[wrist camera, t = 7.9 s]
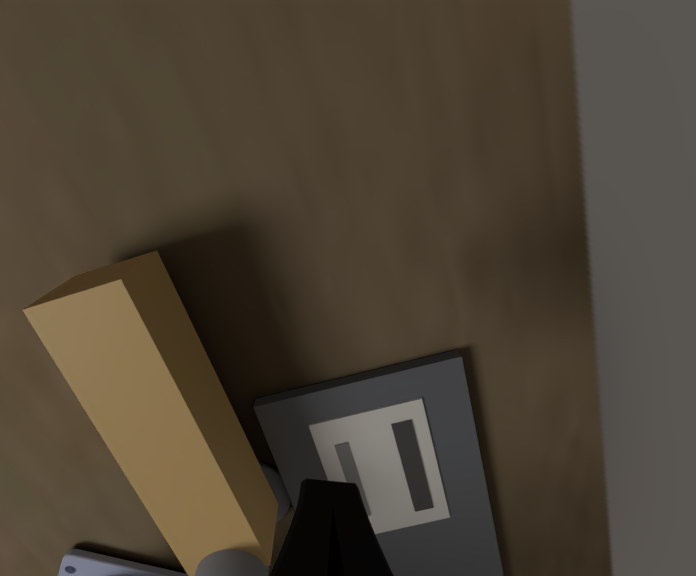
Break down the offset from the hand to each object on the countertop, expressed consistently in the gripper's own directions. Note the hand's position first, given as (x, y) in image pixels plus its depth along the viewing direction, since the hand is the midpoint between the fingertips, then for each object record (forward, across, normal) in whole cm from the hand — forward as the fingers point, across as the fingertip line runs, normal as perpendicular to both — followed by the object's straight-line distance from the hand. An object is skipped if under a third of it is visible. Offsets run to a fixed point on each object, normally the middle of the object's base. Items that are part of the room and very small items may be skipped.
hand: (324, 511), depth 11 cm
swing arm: (+8, +5, +3) cm, 10 cm away
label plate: (+8, -5, +12) cm, 15 cm away
